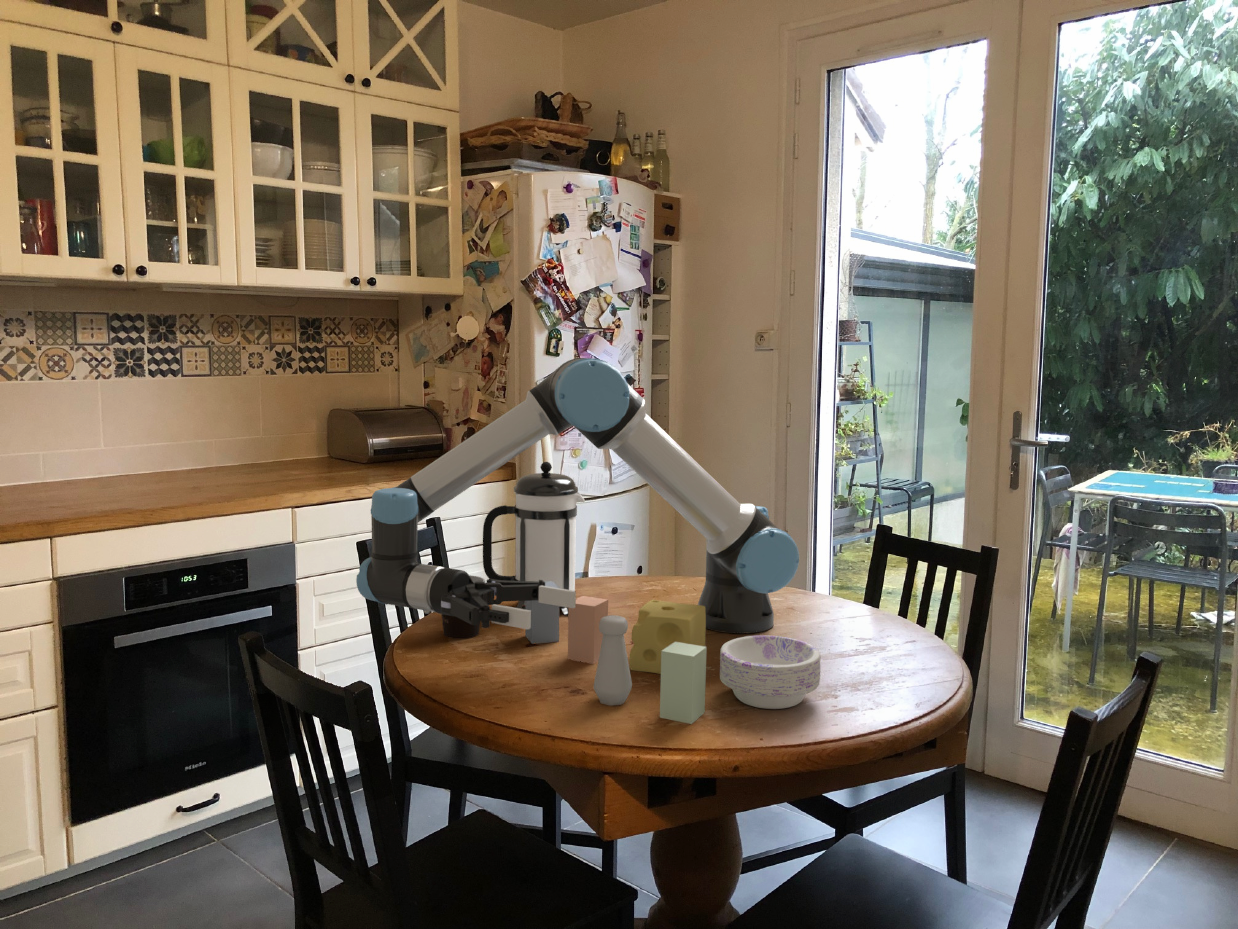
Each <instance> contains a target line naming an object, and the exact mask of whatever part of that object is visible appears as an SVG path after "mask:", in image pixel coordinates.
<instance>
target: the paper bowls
mask: <svg viewBox="0 0 1238 929" xmlns="http://www.w3.org/2000/svg"><path fill="white" fill-rule="evenodd" d="M719 650H720V654H719V660H720V661H719V663H720V665H719V666H720V667H719V680H720V681H721V683H722V684H723V685H725V686H726V687H728V688H729V689H732V692H733V694H734V696H735V698H737V700H739V701H740V702H742V703H743V704H746V705H748V706H751V707H755V708H758V709H768V710H780V709H781V710H782V709H788V708H792V707H794V706H797V705H799V704H800V703H802V701H803V700H804V699H805V697H806V695H807V694H809V693H811V692H814V691H815V690H816V689H817V688H818V687H819V685H820V682H821V659H822V657H821V652H820V650H819V649H818V648H817V647H816V646H815V645H812V644H811V643H809V642H806V641H804V640H801V639H796V638H793V637H786V636H779V635H768V634H767V635H765V634H764V635H763V634H762V635H761V634H759V635H746V636H741V637H737V638H733V639H731V640H729V641H727V642H725V643H723V645H722V646H721V648H720V649H719Z"/></svg>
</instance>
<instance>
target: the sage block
mask: <svg viewBox="0 0 1238 929" xmlns="http://www.w3.org/2000/svg"><path fill="white" fill-rule="evenodd" d="M707 650H708V649H707V646H705V647H704V646H698V645H692V644H686V643H680V642H674V643H673V644H671V645H670V646H668V647H667V648H665V649H664V650H662V651H661V674H660V690H659V691H660V694H659V699H660V700H659V718H661V719H666V720H671V721H674V722H679V723H684V724H690V725H692V724H694V723H695V722H696V721H697V720H698V719H699V718H700V717H702V715H703V714H705V710H706V709H705V708H706V707H705V706H706V681H707V680H706V677H707Z"/></svg>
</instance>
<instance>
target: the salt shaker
mask: <svg viewBox="0 0 1238 929" xmlns="http://www.w3.org/2000/svg"><path fill="white" fill-rule="evenodd" d="M628 625H629V623H628V620H627V619H626V618H625V617H624V616H621V615H614V614H613V615H608V616H605V617H603V618H602V619H601V620H600V623H599V630H600V632H601V633H602V634H603V638H602V644H601V650H600V655H599V661H598V662H597V668H596V671H595V676H594V682H593V690H594V691H595V692H594V693H595V695H597V698H598V700H599V702H600V704H603V705H606V706H620V705H623V704H625V702H626V701H627V699H628V696H629V695H630V692H631V691H632V686H633V682H632V677H631V669H630V664H629V659H628V658H629V657H628V651H627V647H626V641H625V634H626V633H627V631H628V628H629V626H628Z"/></svg>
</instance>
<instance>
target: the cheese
mask: <svg viewBox="0 0 1238 929" xmlns="http://www.w3.org/2000/svg"><path fill="white" fill-rule="evenodd" d="M637 618H638V619H637V622H636V623H634V625H633V627H632V629H631V641H632V644H633V645H632V647H631V649H630V651H629V657H628V658H629V659H628V663H629V669H630V671H635V672H643V673H644V672H645V673H651V674H659V675H661V651H662V650H664V649H665V648H667V647H668V646H670V645H671V644H673V643H674V642H680V643H686V644H692V645H698V646H704V647H706V630H707V628H706V613H705V606H701V605H698V604H694V603H693V604H692V603H682V602H681V603H679V602H672V601H664V600H658V599H651V600H649V601H648V602H646V603H645V604H643V606H640V608H639V610H638V617H637Z"/></svg>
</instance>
